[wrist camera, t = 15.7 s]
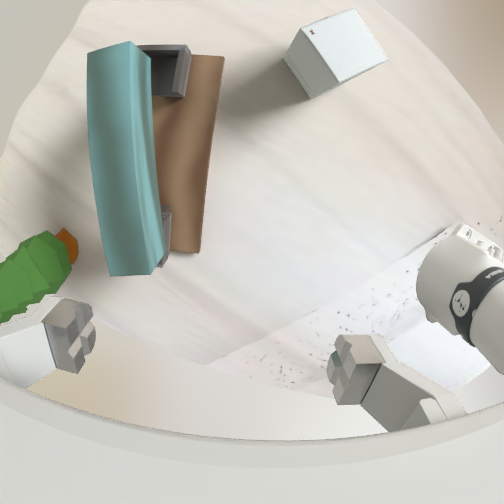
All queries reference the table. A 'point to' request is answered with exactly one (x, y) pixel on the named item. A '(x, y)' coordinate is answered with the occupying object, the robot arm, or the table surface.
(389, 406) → the robot arm
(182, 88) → the bracket stand
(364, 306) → the table surface
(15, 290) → the decorative tree
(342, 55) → the supplement box
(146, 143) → the teal rail
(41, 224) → the table surface
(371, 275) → the table surface
